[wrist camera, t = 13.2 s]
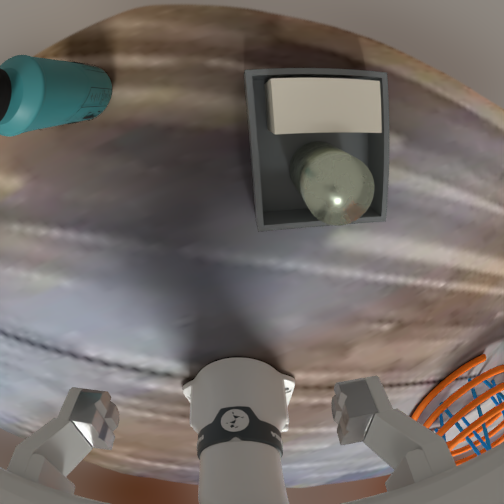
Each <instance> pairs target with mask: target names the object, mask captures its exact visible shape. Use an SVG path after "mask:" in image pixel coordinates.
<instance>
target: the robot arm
mask: <svg viewBox="0 0 504 504" xmlns="http://www.w3.org/2000/svg"><path fill="white" fill-rule="evenodd" d="M294 387H295V379H294V378H293V377H290V376H288V375H284V374H281V373H279V372H278V371H277V370H275V369H274V368H273V367H272V366H270V365H268V364H266V363H264V362H262V361H259V360H255V359H251V358H226V359H222V360H218V361H215V362H213V363H210V364H209V365H207V366H205V367H204V368H203V369H202V370H201V371H200V372H199V373H198V374H197V376H196V377H195V378H194V379H193V380H192V381H190V382H188V383H186V384H185V385H184V386H183V394H184V395H185V396H186V398H187V399H188V401H189V402H190V426H191V427H193V429H194V430H195V431H196V432H197V433H198V441H197V451H198V452H197V455H198V458H199V459H200V472H199V494H198V495H199V496H198V499H199V503H200V504H290V503H289V500H288V497H287V494H286V489H285V484H284V478H283V472H282V466H281V457H282V455H283V442H282V439H281V432H286V431H288V424H289V417H288V408H287V407H288V404H289V401H290V399H291V396H292V393H293V390H294ZM334 391H335V394H336V395H334V396H333V398H332V414H333V418H334V421H335V422H336V423H338V428H337V433H338V437H339V441H340V444H341V445H345V444H351V443H356V442H361V441H363V442H364V443H365V444H366V445H367V446H368V447H369V448H370V449H371V450H372V451H374V452H375V453H376V454H377V455H378V456H379V457H380V458H381V459H383V460H384V461H385V462H386V463H387V464H388V465H389V466H391V467H392V468H393V469H394V472H393V473H392V474H391V476H390V477H389V478H388V480H387V481H386V483H385V484H386V488H387V491H388V492H385V493H382V494H378V495H375V496H371V497H367V498H363V499H360V500H355V501H351V502H346V503H341V504H504V442H502V443H501V444H499V445H497V446H495V447H493V448H492V449H490V450H488V451H486V452H484V453H482V454H480V455H478V456H476V457H474V458H472V459H470V460H468V461H466V462H464V463H462V464H460V465H458V466H456V464H455V461H454V459H453V457H452V455H451V453H450V450H449V448H448V446H447V444H446V442H445V440H444V438H442V437H441V436H439V435H437V434H436V433H434V432H433V431H431V430H429V429H428V428H426V427H425V426H423V425H422V424H420V423H418V422H417V421H415V420H414V419H412V418H411V417H409V416H408V415H406V414H404V413H403V412H401V411H400V410H398V409H393V408H392V406H391V403H390V401H389V399H388V397H387V394H386V392H385V390H384V388H383V386H382V383H381V381H380V379H379V377H378V376H372V377H367V378H360V379H355V380H350V381H344V382H338V383H336V384H335V388H334ZM110 400H111V396H110V394H109V393H108V392H106V391H98V390H90V389H83V388H75V387H72V388H71V389H70V390H69V392H68V395H67V397H66V399H65V401H64V404H63V406H62V408H61V410H60V413H59V415H58V417H57V418H53V419H52V420H51V421H49V422H48V423H47V424H45V425H44V426H43V427H41V428H40V429H39V430H37V431H36V432H35V433H33V434H32V435H31V436H29V437H28V438H27V439H25V440H24V441H23V442H21V443H20V444H19V445H17V446H16V449H15V451H14V453H13V456H12V458H11V461H10V463H9V466H8V468H7V470H5V469H3V468H0V504H109V503H105V502H100V501H96V500H92V499H88V498H83V497H80V496H77V495H73V494H74V490H75V485H74V484H73V483H72V482H71V481H70V480H69V479H67V478H66V476H67V475H68V474H69V473H70V472H71V471H72V470H73V469H74V468H75V467H76V466H77V465H78V463H79V462H80V461H81V460H82V459H83V458H84V457H85V456H86V455H87V454H88V453H89V452H90V451H91V450H92V449H93V448H100V449H107V450H111V449H112V446H113V442H114V438H115V435H114V433H113V431H114V430H115V429H116V428H117V427H118V423H119V412H118V408H117V407H116V405H115V404H114V403H112V402H111V401H110ZM92 447H93V448H92Z"/></svg>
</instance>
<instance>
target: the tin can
mask: <svg viewBox="0 0 504 504" xmlns="http://www.w3.org/2000/svg"><path fill="white" fill-rule="evenodd" d="M290 177H291V180H292V182H293V184H294V186H295V187H296V189H297V190H298V192H299V194H300V195H301V197H302V198H303V200H304V202H305V203H306V205H307V207H308V208H309V210H310V211H311V213H312V214H313V215H314V216H315V217H316V218H317V219H318V220H320V221H322V222H324V223H326V224H329V225H346V224H349V223H352V222H354V221H356V220H357V219H359V218H360V217H361V216H362V215H363V214H364V213H365V212H366V211H367V210H368V208H369V206H370V205H371V202H372V200H373V196H374V189H375V187H374V180H373V176H372V174H371V172H370V170H369V169H368V167H367V166H366V165H365V164H364V163H363V162H362V161H361V160H359V159H357V158H356V157H354V156H352V155H350V154H348V153H346V152H344V151H342V150H340V149H338V148H337V147H335V146H333V145H331V144H328V143H325V142H320V141H316V142H310V143H308V144H305V145H303V146H302V147H301V148H299V149H298V150H297V151H296V153H295V154H294V156H293V157H292V160H291V163H290Z"/></svg>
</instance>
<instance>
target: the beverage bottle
mask: <svg viewBox="0 0 504 504" xmlns="http://www.w3.org/2000/svg"><path fill="white" fill-rule="evenodd" d="M89 65H90V64H87V65H84V64H83V63H77V61H76V62H67V61H59V60H55V59H54V60H52V59H45V58H37V57H31V56H27V55H17V56H14V57H12V58H10V59H8V60H6V61H5V62H4V63H3V64H2V65H1V66H0V134H1V135H3V136H15V135H19V134H21V133H24V132H28V131H32V130H36V129H39V130H40V129H41V128H47V127H52V126H56V127H57V125H59V126H61V125H62V124H66V125H67V124H70V123H74V124H75V123H77V122H78V121H83V120H89V119H91V120H93V119H95V118H94V117H96V116H98V115H99V114H100V113H102V112H103V110H104V109H106V107H107V105H108V104H109V101H110V99H111V95H112V84H111V80H110V78H109V76H108V75H107V74H106V73H107V72H105V71H103V68H101V69H100V68H99V67H98V66H97V67H94V66H92V64H91V65H90V66H89ZM92 118H93V119H92ZM85 122H86V121H85Z"/></svg>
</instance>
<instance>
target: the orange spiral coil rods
mask: <svg viewBox="0 0 504 504" xmlns="http://www.w3.org/2000/svg"><path fill="white" fill-rule="evenodd" d="M484 361H486V355H485V354H482V355H480V356H478V357H476V358H474V359H473V360H471V361H469V362H468V363H466V364H464V365H463V366H461V367H460V368H458V369H457V370H455V371H454V372H453V373H452V374H450V375H449V376H448V377H446V378H445V379H444V380H443V381H442V382H440V383H439V384H438V385H437V386H436V387H435V388H434V389H433V390H432V391H431V392H430V393H429V394H428V395H427V396H426V397H425V399H424V400H423V401H422V402H421V403H420V405H419V406H418V407H417V409H416V410H415V412H414V413H413V415H412V417H411V418H412V419H414V420H415V421H417V419H418V418H419V416H420V414H421V413H422V411H423V410H424V409H425V408H426V406H427V405H428V404H429V403H430V402H431V401H432V399H433V398H434V397H435V396H436V395H437V394H438V393H439V392H441V391H442V390H443V389H444V388H445V387H446V386H447V385H449V384H450V383H451V382H452V381H454V380H455V379H456V378H457V377H459V376H460V375H462V374H463V373H465V372H466V371H468V370H469V369H471V368H472V367H474V366H476V365H478V364H480V363H482V362H484ZM502 372H504V365H500V366H497V367H495V368H492V369H490V370H488V371H486V372H484V373H482V374H481V375H478V376H477V377H476V378H474V379H472V380H471V378H469V379H468V383H467V384H465V385H464V386H462V387H461V388H460V389H458V390H457V391H456V392H455V393H453V394H452V395H451V396H450V397H449V398H448V399H446V400H445V401H444V402H441V403H440V406H439V407H438V408H437V409H436V410H435V411H434V412H433V413H432V414H431V415H430V417H429V418H428V419H427V420H426V422H425V423H424V424H423V426H425V427H426V428H428V429H429V427H430V426H431V425H432V423H433V422H434V421H435V420H436V419H437V418H438V417H439V418H440V425H441V428H440V429H439V430H438V429H437V428H436V429H435V432H436V434H437V435H439V436H441V437H442V438H444V440H445V442H446V438H445V433H446V432H447V431H448V430H449V429H450V428H451V427H452V426H453V425H454V424H455V425H456V427H457V428H458V429H459V431H460V432H461V433H459V434H458V435H457V436H456V437H455V438H454V439H453V440H452V441H448V442H446V444H447V446H448V448H449V450H450V453H451V455H452V456H455V455H458V454H461V453H463V452H466V451H468V450H470V449H473V450H474V452H475V454H473V455H471V456H469V457H466V458H463V459H460V460H458V461H455V464H456V466H458V465H460V464H462V463H464V462H466V461H468V460H470V459H472V458H474V457H476V456H478V455H480V454H482V453H484V452H486V451H488V450H490V449H492V448H493V447H495V446H497V445H499V444H500V443H501V442H503V441H504V434H503V435H502V436H501V437H500V438H498V439H497V440H496V441H495V442H493V443H492V444H490V440H489V438H490V437H492V436H493V435H494V434H496V433H497V432H498V431H499V430H501V429H502V428H503V427H504V420H503V421H502V422H501V423H500V424H499V425H498V426H497V427H495V428H494V429H493V430H492V431H490V432H489V433H488V432H487V429H486V428H487V427H488V426H489V425H491V424H492V423H493V422H494V421H495V420H496V419H498V418H499V417H500V416H501V415H502V414H503V416H504V402H502V400H501V398H502V399H503V400H504V395H503V394H502V393H501V391H503V390H504V382H503V383H501V384H499V385H497V386H496V384H495V381H494V380H492V381H491V382H492V384H493V385H492V384H490V383H489V382H488V381H487V380H486V379H488V378H490V377H492V376H494V375H496V374H499V373H502ZM482 381H483V382H484V383H485V384H486V385H487V386H488V387H489V388H490V390H488V391H486V392H485V393H483V394H482V395H480V396H478V397H477V395H476V392H475V389H474V387H475V386H476V385H478V384H479V383H481V382H482ZM470 389H471V391H472V394H473V397H474V400H473V401H471V402H470V403H469V404H467V405H466V406H465V407H464V408H462V409H461V410H460V411H459V412H457V413H456V414H455V415H454V416H453V415H452V414H451V413H450V411H449V410H448V409H447V408H448V407H449V406H450V405H451V404H452V403H453V402H454V401H456V400H457V399H458V398H459V397H461V396H462V395H463V394H465V393H466V392H467V391H469V390H470ZM495 394H496V395H497V398H498V401H499V403H498V402H497V401H496V399H495V398H494V397H493V395H495ZM488 398H491V399H492V401H493V402H494V403H495V404H496V407H494V408H492V409H491V410H489V411H488V412H486V413H485V414H484V415H483V414H482V411H481V408H480V405H479V404H481V403H482V402H484V401H485V400H487V399H488ZM475 407H477V410H478V414H479V418H478V419H477V420H476V421H474V422H473V423H472V424H469V423H468V421H467V420H466V419H465V418H464V416H465V415H466V414H467V413H468V412H470V411H471V410H472V409H474V408H475ZM443 411H445V412H446V413H447V415H448V416H449V417H450V419H449V420H448V421H447V422H446V423H445V424H444V423H443V416H442V412H443ZM460 419H462V420H463V421H464V423H465V424H466V425H467V426H468V427H467V428H465V429H464V430H463V429H462V427H461V426H460V424H459V423H458V422H457V421H459V420H460ZM487 420H488V421H487ZM486 421H487V422H486ZM480 425H481V426H480ZM479 426H480V427H479ZM476 428H477V429H476ZM482 430H483V432H484V436H483V437H482V438H481V437H480V436H479V435H478V433H479V432H481V431H482ZM474 435H475V437H476V438H477V439H478V440H477V441H475V442H472V441H471V439H470V438H471V437H473V436H474ZM465 440H467V442H468V443H469V445H467V446H465V447H462V448H460V449H457V450H454V451H451V450H452V449H453V448H454V447H455V446H456V445H457V444H458V443H460V442H463V441H465ZM484 441H486V444H487V445H486V444H485V442H484ZM479 444H482V445H483V447H484V449H482V450H481V451H479V450H478V449H477V448H476V446H478V445H479Z"/></svg>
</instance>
